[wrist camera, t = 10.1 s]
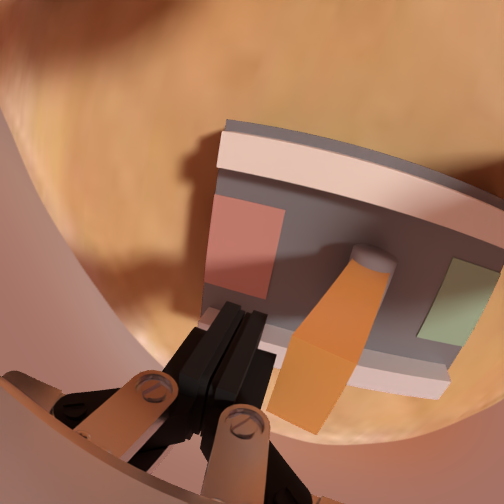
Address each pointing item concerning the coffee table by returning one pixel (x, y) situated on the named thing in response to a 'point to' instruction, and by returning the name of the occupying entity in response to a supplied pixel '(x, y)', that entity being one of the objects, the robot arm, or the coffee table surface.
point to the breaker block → (341, 244)
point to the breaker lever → (331, 340)
